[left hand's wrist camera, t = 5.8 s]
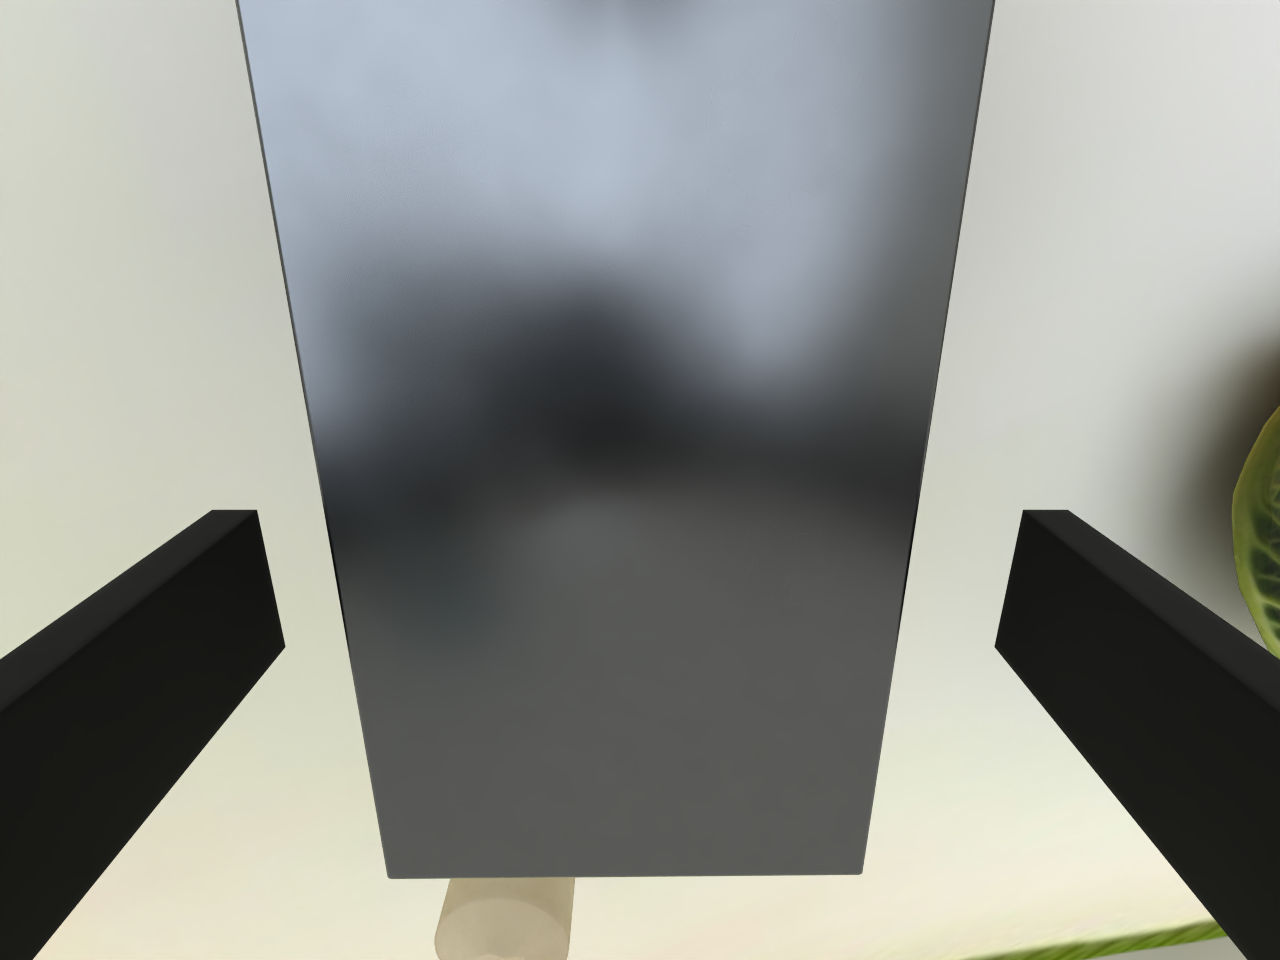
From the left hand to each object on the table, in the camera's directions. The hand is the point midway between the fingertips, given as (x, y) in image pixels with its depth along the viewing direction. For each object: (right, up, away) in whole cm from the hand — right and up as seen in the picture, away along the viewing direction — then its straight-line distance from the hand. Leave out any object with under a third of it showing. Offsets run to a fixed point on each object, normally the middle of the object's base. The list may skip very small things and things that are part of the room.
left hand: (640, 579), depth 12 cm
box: (0, +11, +5) cm, 12 cm away
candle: (-6, -14, +25) cm, 29 cm away
